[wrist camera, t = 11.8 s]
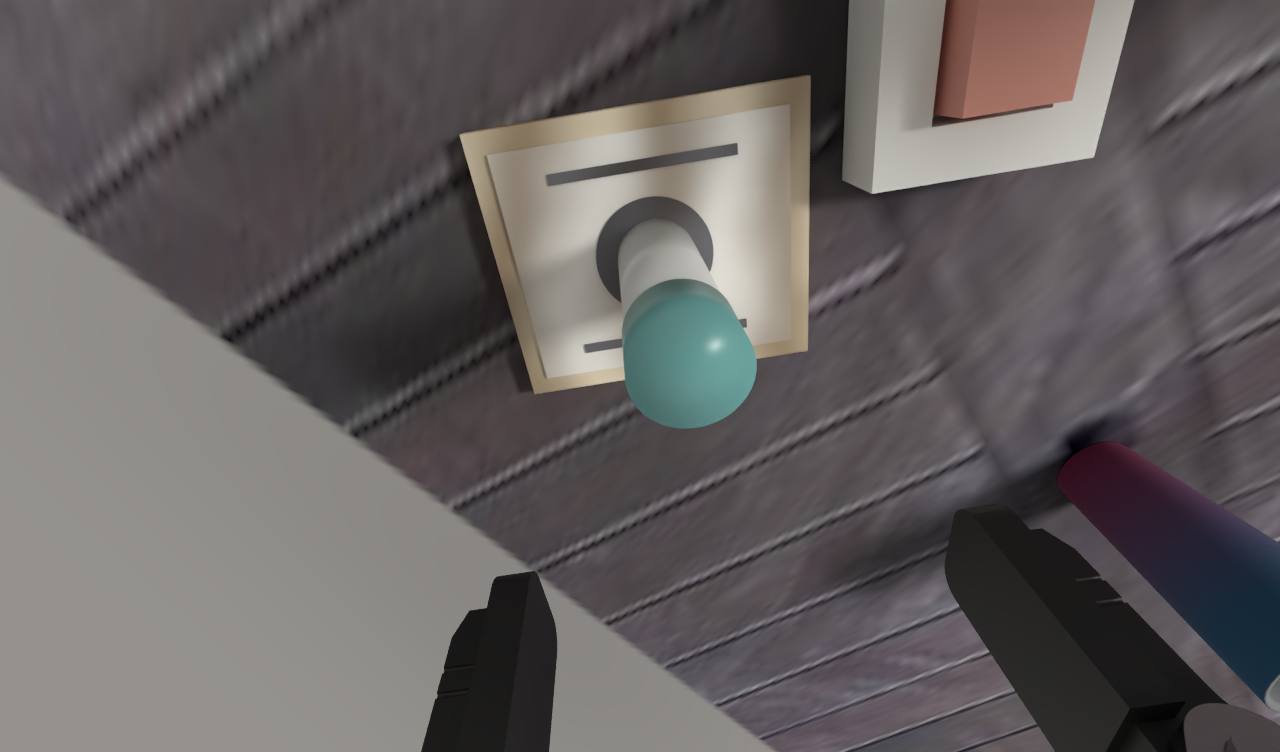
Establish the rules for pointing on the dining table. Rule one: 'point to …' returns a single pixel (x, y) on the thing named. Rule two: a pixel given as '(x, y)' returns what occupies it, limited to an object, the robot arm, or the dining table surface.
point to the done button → (1009, 54)
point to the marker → (679, 331)
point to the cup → (1188, 556)
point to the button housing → (946, 146)
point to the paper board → (648, 216)
